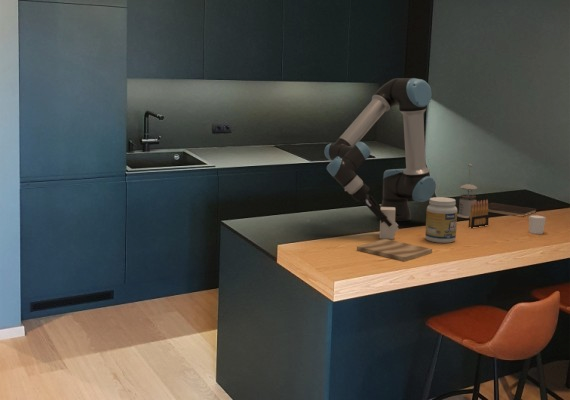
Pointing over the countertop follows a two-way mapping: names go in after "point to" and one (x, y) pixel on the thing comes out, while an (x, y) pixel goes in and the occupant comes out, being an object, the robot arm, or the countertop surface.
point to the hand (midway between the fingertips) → (396, 229)
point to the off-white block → (384, 230)
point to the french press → (466, 200)
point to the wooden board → (394, 249)
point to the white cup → (536, 224)
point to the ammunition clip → (478, 214)
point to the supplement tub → (441, 220)
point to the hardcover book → (509, 209)
